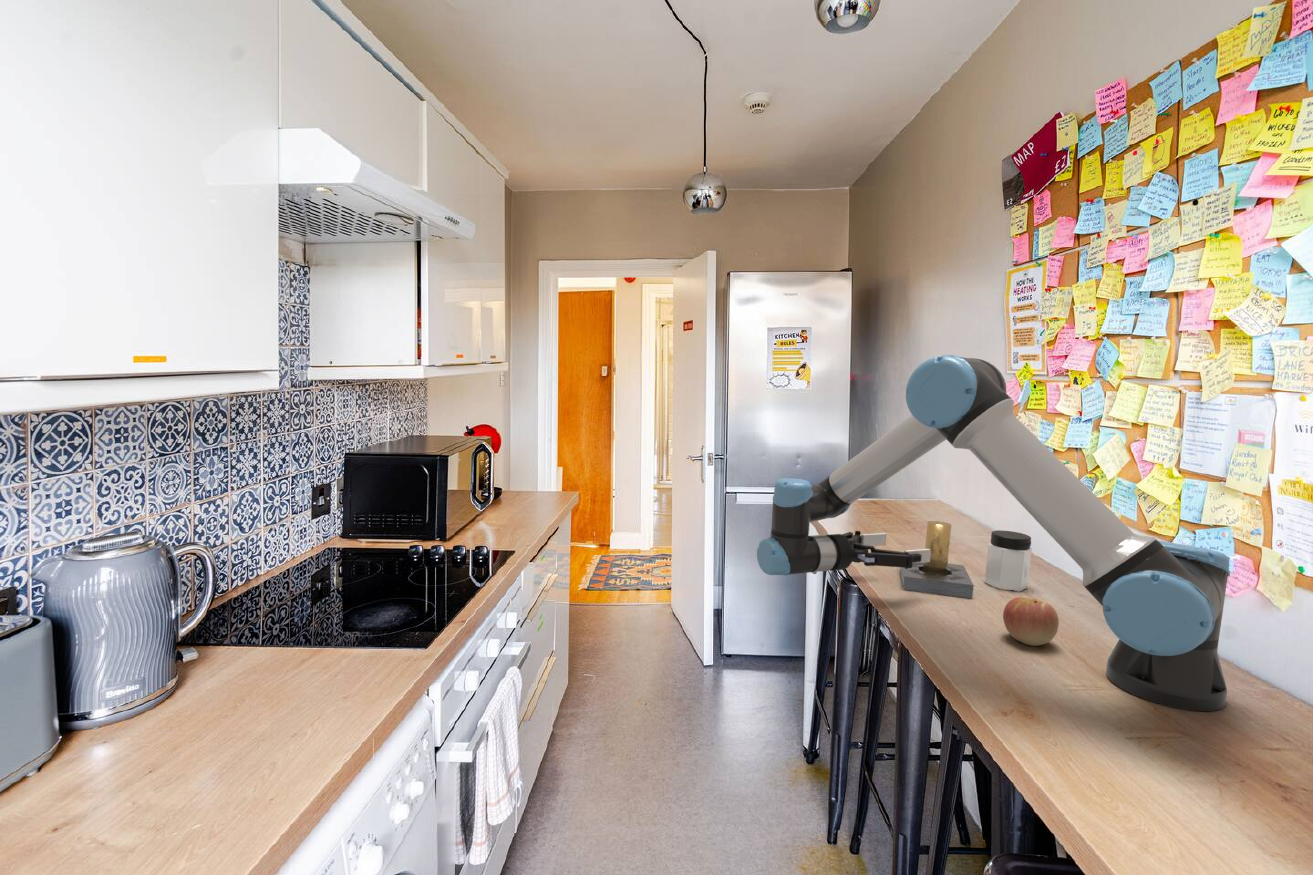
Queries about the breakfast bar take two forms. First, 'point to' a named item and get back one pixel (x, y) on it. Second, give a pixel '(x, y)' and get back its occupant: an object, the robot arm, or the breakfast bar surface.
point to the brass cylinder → (937, 547)
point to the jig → (938, 581)
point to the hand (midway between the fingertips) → (906, 546)
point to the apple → (1030, 621)
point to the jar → (1008, 560)
